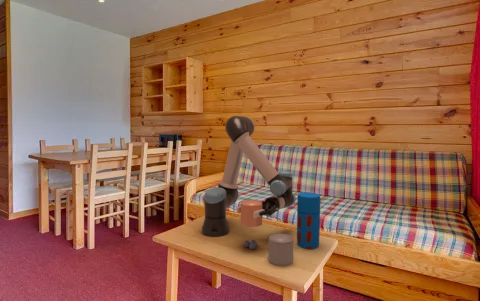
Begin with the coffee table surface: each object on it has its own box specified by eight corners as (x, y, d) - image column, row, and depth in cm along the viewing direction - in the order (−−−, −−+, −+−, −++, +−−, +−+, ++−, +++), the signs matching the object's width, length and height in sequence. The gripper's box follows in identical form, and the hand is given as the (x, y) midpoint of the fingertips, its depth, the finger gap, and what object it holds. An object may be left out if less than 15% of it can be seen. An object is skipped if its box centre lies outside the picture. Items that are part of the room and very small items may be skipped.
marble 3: (247, 249, 138) (247, 242, 138) (252, 247, 141) (252, 240, 141) (252, 251, 136) (252, 244, 136) (257, 249, 139) (257, 242, 138)
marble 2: (249, 246, 142) (249, 239, 142) (253, 244, 144) (253, 238, 144) (254, 248, 140) (254, 241, 139) (258, 246, 142) (258, 239, 142)
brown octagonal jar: (264, 260, 127) (264, 237, 126) (277, 253, 134) (278, 231, 134) (283, 268, 120) (283, 244, 119) (296, 260, 127) (297, 237, 127)
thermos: (320, 250, 138) (321, 198, 135) (296, 248, 139) (297, 197, 137) (317, 241, 148) (319, 192, 146) (296, 239, 150) (297, 191, 148)
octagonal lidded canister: (236, 223, 139) (236, 202, 138) (250, 218, 146) (250, 198, 146) (252, 228, 132) (252, 206, 131) (266, 223, 140) (266, 202, 139)
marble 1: (242, 247, 141) (242, 240, 141) (246, 245, 143) (246, 238, 143) (247, 249, 139) (247, 242, 138) (251, 246, 141) (251, 240, 141)
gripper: (292, 215, 144) (264, 226, 128) (257, 206, 160) (228, 215, 144) (292, 200, 144) (264, 209, 128) (257, 192, 159) (228, 200, 143)
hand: (245, 212), depth 136 cm, fingers closed on octagonal lidded canister, 10 cm apart
